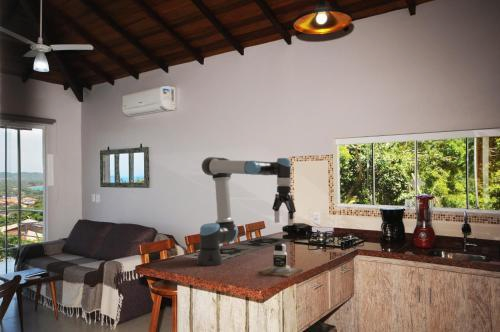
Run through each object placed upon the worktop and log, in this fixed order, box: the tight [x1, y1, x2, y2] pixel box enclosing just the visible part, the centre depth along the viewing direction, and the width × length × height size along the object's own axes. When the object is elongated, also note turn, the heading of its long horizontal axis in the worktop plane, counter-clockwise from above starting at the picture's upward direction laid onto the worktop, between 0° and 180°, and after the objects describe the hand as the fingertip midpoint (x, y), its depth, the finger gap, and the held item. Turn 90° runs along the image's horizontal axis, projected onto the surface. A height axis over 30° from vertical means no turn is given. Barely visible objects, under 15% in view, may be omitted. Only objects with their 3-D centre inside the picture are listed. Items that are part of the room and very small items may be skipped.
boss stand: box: [257, 264, 304, 279], centre depth 200 cm, size 18×18×3 cm
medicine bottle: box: [272, 243, 288, 268], centre depth 201 cm, size 7×7×12 cm
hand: (283, 223), depth 204 cm, fingers open, 13 cm apart
